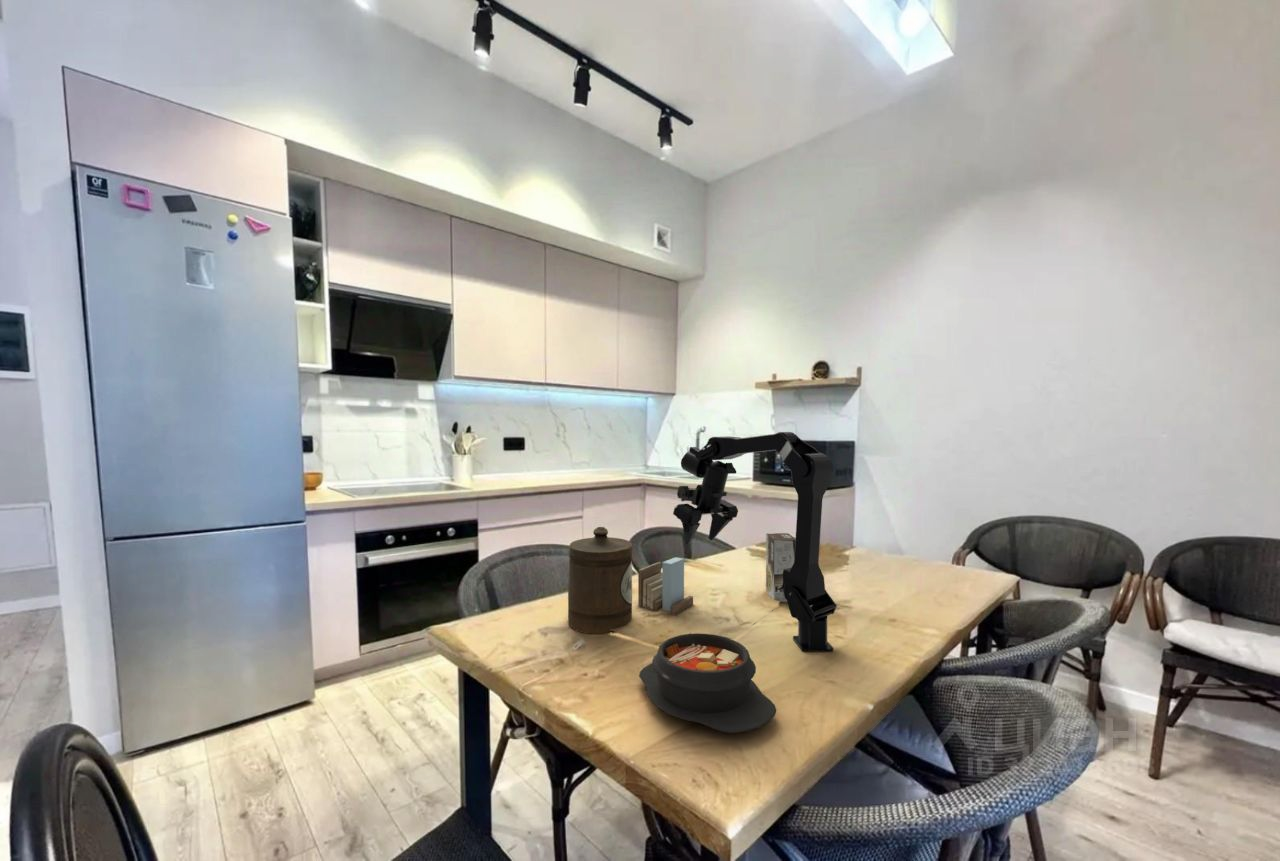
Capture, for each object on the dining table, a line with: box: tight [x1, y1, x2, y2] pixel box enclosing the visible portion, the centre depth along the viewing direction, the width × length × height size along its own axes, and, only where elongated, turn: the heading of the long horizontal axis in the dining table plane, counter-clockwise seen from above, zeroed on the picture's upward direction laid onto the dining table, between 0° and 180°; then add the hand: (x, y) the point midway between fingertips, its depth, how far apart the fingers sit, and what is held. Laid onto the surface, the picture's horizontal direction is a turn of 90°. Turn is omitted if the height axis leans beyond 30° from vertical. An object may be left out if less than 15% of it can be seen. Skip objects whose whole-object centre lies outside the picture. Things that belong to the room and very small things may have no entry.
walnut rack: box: [637, 561, 695, 617], centre depth 126 cm, size 11×9×10 cm
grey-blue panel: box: [662, 556, 685, 611], centre depth 125 cm, size 2×6×12 cm, turn 144°
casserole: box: [638, 632, 777, 734], centre depth 84 cm, size 25×19×8 cm
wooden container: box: [567, 526, 633, 635], centre depth 118 cm, size 15×15×22 cm
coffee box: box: [765, 532, 796, 603], centre depth 135 cm, size 9×6×16 cm
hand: (698, 541), depth 130 cm, fingers open, 9 cm apart
